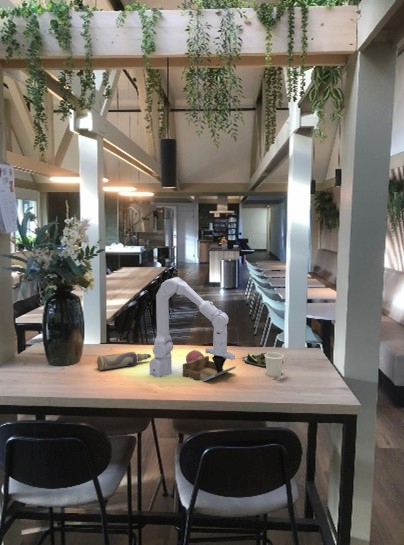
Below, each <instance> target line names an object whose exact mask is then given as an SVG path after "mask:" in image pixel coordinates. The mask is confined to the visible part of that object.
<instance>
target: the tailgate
mask: <svg viewBox="0 0 404 545" xmlns="http://www.w3.org/2000/svg"><path fill="white" fill-rule="evenodd" d="M236 368H237V367H236V365H235V366H231V367H229V368H227V369H225V370H224V369H223V371H222V372H219V373H217V374H214V375H212V376H209V377H207V378H205V379H203V380H201V381H200V382H205V381H208V380H210V379H213V378H216V377H219V376H221V375H223V374H226V373H229V372H231V371H233V370H234V369H236Z"/></svg>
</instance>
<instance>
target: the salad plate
mask: <svg viewBox="0 0 404 545" xmlns="http://www.w3.org/2000/svg"><path fill="white" fill-rule="evenodd" d="M266 353H268V352H261V353H258V354H252V353H247V356H243V357H241V359H243V361H244V362H245V364H246V365H249V366H253V367H256V368H257V367H258V368H262V369H266V361H265V356H264V355H265V354H266Z"/></svg>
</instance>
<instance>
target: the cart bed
mask: <svg viewBox="0 0 404 545" xmlns="http://www.w3.org/2000/svg"><path fill="white" fill-rule="evenodd" d="M222 371H224V367H223V368H222ZM214 374H217V370H216V366H215V363H214V361H213V360H210V356H209V355H204V357H202V358H199V359H196V360H193V361H190V362H185V363H183V364H182V377H184V378H191V379H193V381H196V382H198V381H200V382H202V381H201V380H203V379H205V378H207V377H209V376H212V375H214Z"/></svg>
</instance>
